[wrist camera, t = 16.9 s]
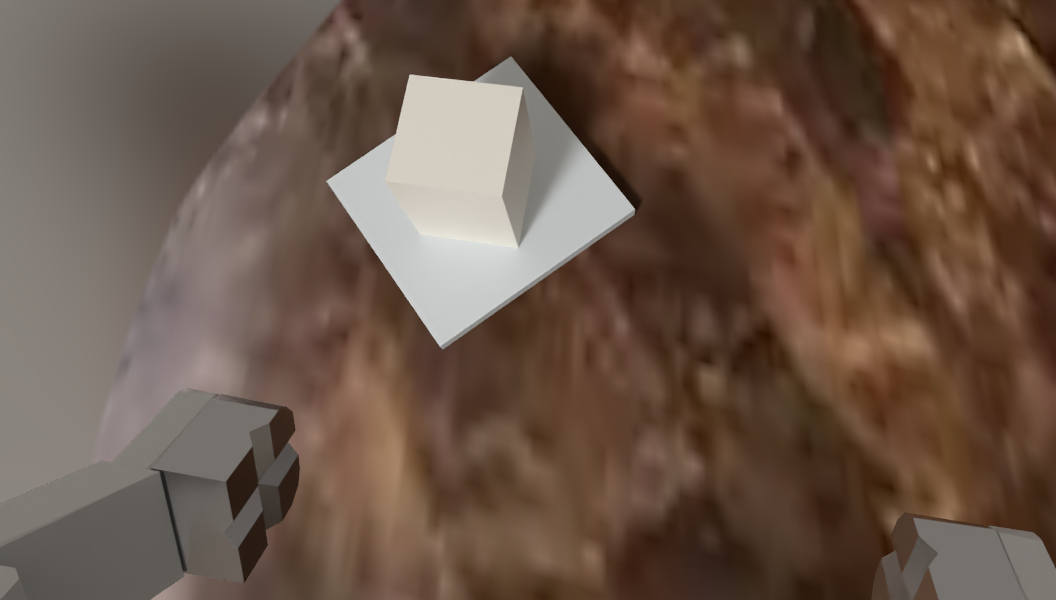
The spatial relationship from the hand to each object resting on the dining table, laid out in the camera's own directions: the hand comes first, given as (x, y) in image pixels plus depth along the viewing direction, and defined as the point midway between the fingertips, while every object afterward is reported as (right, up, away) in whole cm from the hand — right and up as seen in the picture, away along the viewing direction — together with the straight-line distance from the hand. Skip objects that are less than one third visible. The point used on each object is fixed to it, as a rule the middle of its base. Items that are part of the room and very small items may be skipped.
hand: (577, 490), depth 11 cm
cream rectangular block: (-3, +8, +34) cm, 36 cm away
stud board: (-3, +8, +35) cm, 36 cm away
